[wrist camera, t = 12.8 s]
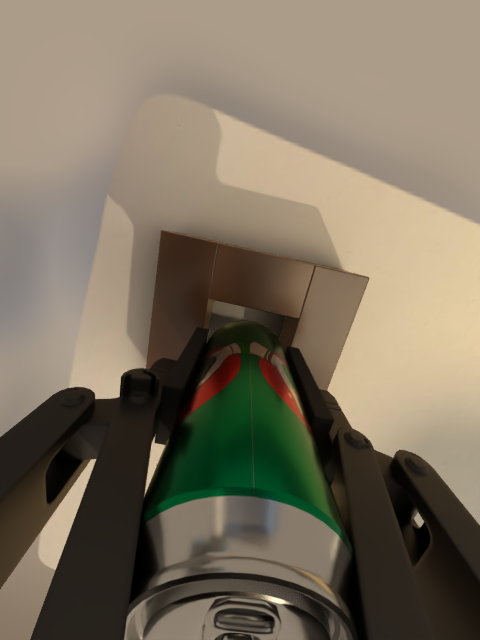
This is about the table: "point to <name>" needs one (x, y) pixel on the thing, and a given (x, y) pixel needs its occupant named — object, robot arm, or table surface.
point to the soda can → (241, 511)
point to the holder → (252, 298)
